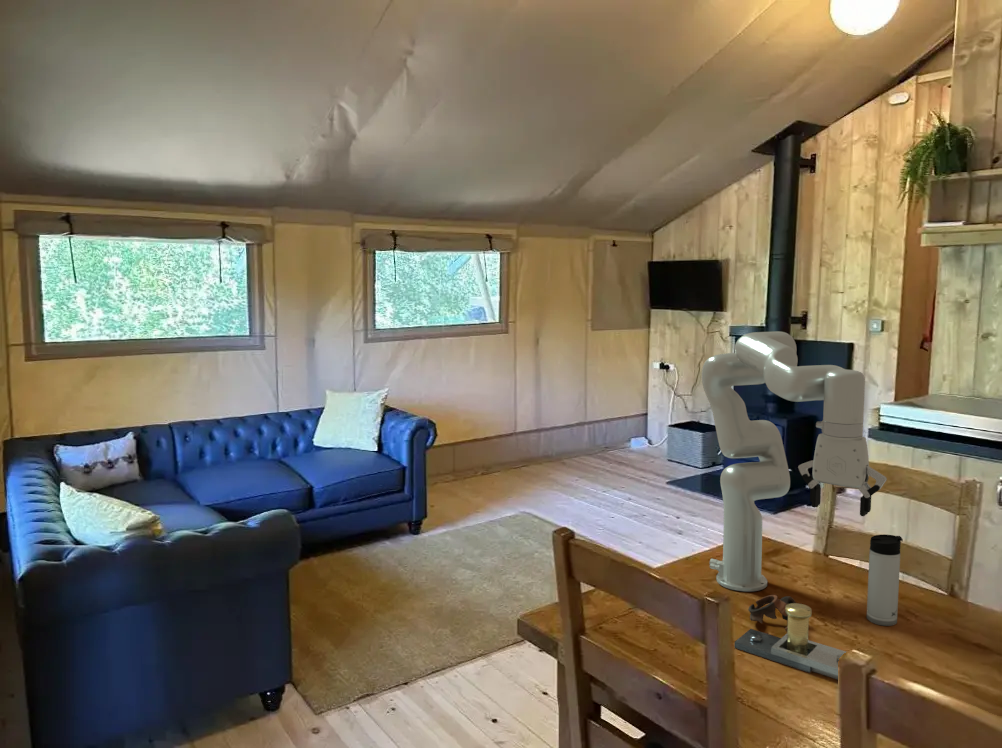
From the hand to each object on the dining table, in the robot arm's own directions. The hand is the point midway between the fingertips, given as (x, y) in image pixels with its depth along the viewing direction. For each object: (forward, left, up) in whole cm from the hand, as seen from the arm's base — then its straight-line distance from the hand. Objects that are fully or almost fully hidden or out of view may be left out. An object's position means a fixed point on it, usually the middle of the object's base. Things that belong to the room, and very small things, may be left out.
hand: (839, 510), depth 158 cm
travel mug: (+4, +20, -31) cm, 37 cm away
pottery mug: (-13, +2, -31) cm, 33 cm away
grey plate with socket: (-4, -10, -30) cm, 32 cm away
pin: (-4, -10, -30) cm, 32 cm away
